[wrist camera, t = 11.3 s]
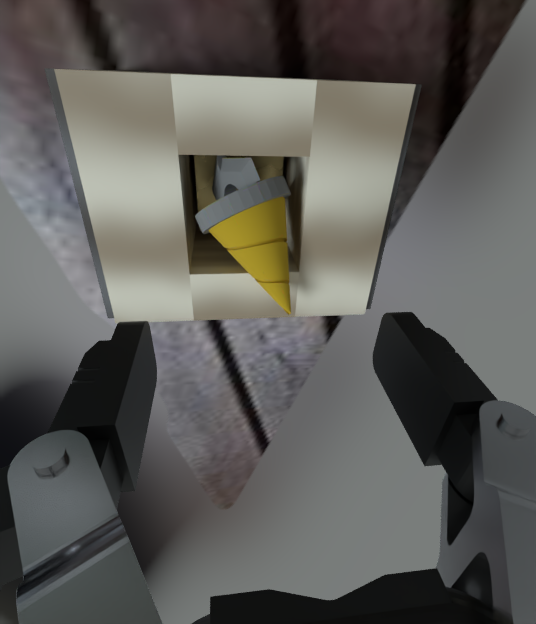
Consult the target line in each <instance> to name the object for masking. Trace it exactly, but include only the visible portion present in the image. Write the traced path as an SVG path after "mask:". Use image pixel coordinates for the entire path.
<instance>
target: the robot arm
mask: <svg viewBox="0 0 536 624" xmlns="http://www.w3.org/2000/svg"><path fill="white" fill-rule="evenodd" d="M373 366H374V370H375V373H376V374H377V376H378V378H379V380H380V382H381V384H382V386H383V388H384V390H385V392H386V394H387V396H388V397H389V399H390V401H391V403H392V405H393V407H394V409H395V411H396V413H397V415H398V416H399V418H400V420H401V422H402V424H403V426H404V428H405V430H406V432H407V433H408V435H409V437H410V439H411V441H412V443H413V445H414V447H415V449H416V450H417V453H418V454H419V456H420V458H421V460H422V462H423V464H424V466H432V465H442V466H443V467H444V469H445V470H446V474H445V475H444V478H443V481H442V504H441V535H440V553H439V559H438V563H437V566H436V569H428V570H420V571H412V572H404V573H396V574H388V575H384V576H382V577H380V578H378V579H376V580H374V581H372V582H370V583H368V584H366V585H364V586H362V587H360V588H358V589H356V590H354V591H352V592H350V593H348V594H346V595H344V596H342V597H340V598H338V599H335V600H322V599H317V598H312V597H307V596H301V595H296V594H291V593H286V592H280V591H275V590H261V591H253V592H245V593H237V594H230V595H221V596H213V597H211V598H210V614H209V615H207V616H205V617H202V618H200V619H198V620H197V621H195V622H194V623H192V624H536V416H535V415H534V414H532V413H531V412H529V411H528V410H526V409H524V408H522V407H520V406H518V405H516V404H513V403H509V402H506V401H498V400H497V399H496V397H495V396H494V395H493V394H492V393H491V391H490V390H489V389H488V388H487V387H486V386H485V384H484V383H483V382H482V381H481V380H480V379H479V378H478V376H477V375H476V374H475V373H474V372H473V370H472V369H471V368H470V367H469V366H468V365H467V364H466V363H464V360H463V359H462V358H461V356H460V355H459V354H458V353H455V349H454V348H453V347H452V346H451V345H450V344H449V342H448V341H447V340H446V339H445V338H444V337H442V336H441V335H439V334H438V333H436V332H435V331H433V330H432V329H430V328H425V327H424V326H423V324H422V323H421V322H420V321H419V319H418V318H417V317H416V316H415V315H414V314H413V313H412V312H398V313H397V312H396V313H386V314H384V315H383V317H382V320H381V324H380V328H379V332H378V336H377V339H376V343H375V347H374V351H373ZM156 381H157V366H156V359H155V353H154V348H153V342H152V337H151V331H150V326H149V323H148V321H129V322H119V323H118V324H117V326H116V329H115V331H114V334H113V336H112V339H111V340H109V341H98V342H97V343H96V344H95V345H94V346H93V347H92V348H91V349H89V350H88V351H87V352H86V353H85V355H84V357H83V359H82V361H81V363H80V365H79V367H78V371H76V374H75V376H74V378H73V380H72V384H70V386H69V388H68V391H67V393H66V395H65V397H64V399H63V401H62V403H61V405H60V408H59V410H58V412H57V414H56V416H55V418H54V420H53V422H52V424H51V427H50V429H49V431H48V433H47V434H45V435H43V436H41V437H39V438H37V439H35V440H34V441H32V442H30V443H29V444H28V445H26V446H25V447H24V448H23V449H22V450H21V451H20V452H19V453H18V454H17V455H16V457H15V458H14V459H13V461H12V463H11V465H9V466H7V467H4V468H1V469H0V590H1V588H2V586H3V584H5V583H8V582H10V581H12V580H15V579H17V578H19V577H21V576H23V582H22V583H21V584H19V585H18V588H17V593H16V601H17V612H18V619H19V624H162V621H161V619H160V616H159V614H158V611H157V609H156V606H155V604H154V602H153V599H152V596H151V594H150V591H149V589H148V586H147V584H146V581H145V579H144V576H143V574H142V572H141V569H140V566H139V564H138V561H137V559H136V556H135V554H134V551H133V549H132V546H131V544H130V541H129V539H128V536H127V534H126V531H125V529H124V527H123V524H122V522H121V520H120V518H119V515H118V513H117V505H118V501H119V497H120V492H128V491H135V488H136V484H137V479H138V473H139V468H140V463H141V458H142V453H143V448H144V443H145V438H146V433H147V428H148V422H149V418H150V413H151V407H152V402H153V397H154V392H155V387H156Z"/></svg>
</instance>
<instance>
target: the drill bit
mask: <svg viewBox="0 0 536 624" xmlns="http://www.w3.org/2000/svg"><path fill="white" fill-rule="evenodd" d="M236 188H237V189H238V190H237V191H236ZM212 191H213V194H214V197H215V199H216V201H215V202H213V203H212V204H210V205H208V206H207V207H205V208H203V209H202V210H201V211H199V212H198V213H197V214H196V216H195V218H196V220H197V222H198V224H199V227H200V229H201V231H202V233H203V234H207V233H211V234H212V235H213V236H214V237H215V238H216V239H217V240H218V241H219V242H220V243H221V244H222V246H223V247H225V248H226V250H227V251H228V252H229V253H230V254H231V255H232V256H233V257H234V258H235V259H236V260H237V261H238V262H239V263H240V264H241V266H242V267H243V268H244V269H245V270H246V271H247V272H248V273H249V274H250V275H251V276H252V277H253V278H255V280H256V281H257V282H258V283H259V284H260V285H261V287H262V288H263V289H264V290H265V291H266V292H267V293H268V294H269V295H270V296H271V297H272V298H273V299H274V300H275V301H276V302H277V303H278V304H279V305H280V306H281V307H282V308H283V309H284V311H285V312H286V313H287V314H288V315H289V314H291V302H290V285H289V264H288V246H287V243H286V242H287V227H286V209H285V199H286V198H288V197H289V196H290V195H291V193H290V190H289V188H288V185H287V183H286V180H285V178H284V177H283V176H277V177H272V178H269V179H265V180H262V181H260V178H259V175H258V173H257V170H256V168H255V166H254V163H253V161H252V158H227V157H226V156H225V155H217V159H216V165H215V172H214V179H213V186H212Z"/></svg>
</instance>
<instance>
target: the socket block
mask: <svg viewBox="0 0 536 624" xmlns="http://www.w3.org/2000/svg"><path fill="white" fill-rule="evenodd" d="M45 72H46V76H47V80H48V84H49V88H50V92H51V96H52V100H53V104H54V108H55V112H56V116H57V119H58V123H59V127H60V131H61V135H62V139H63V143H64V147H65V151H66V155H67V159H68V163H69V167H70V171H71V175H72V179H73V183H74V186H75V190H76V194H77V198H78V202H79V206H80V210H81V214H82V218H83V222H84V226H85V230H86V234H87V238H88V242H89V246H90V249H91V253H92V257H93V261H94V265H95V269H96V273H97V277H98V281H99V285H100V289H101V293H102V297H103V301H104V305H105V309H106V312H107V316H108V318H114V319H115V323H119V322H129V321H148V322H164V321H191V320H219V319H246V318H274V317H301V316H329V315H356V314H365V311H366V309H370V308H371V303H372V299H373V294H374V290H375V286H376V282H377V277H378V273H379V268H380V264H381V259H382V255H383V251H384V247H385V242H386V238H387V234H388V229H389V225H390V221H391V216H392V212H393V208H394V203H395V199H396V195H397V190H398V186H399V182H400V177H401V173H402V168H403V164H404V160H405V155H406V151H407V147H408V142H409V138H410V134H411V129H412V125H413V121H414V116H415V112H416V108H417V103H418V99H419V94H420V90H421V86H422V85H421V84H401V83H382V82H364V81H346V80H323V79H299V78H276V77H252V76H229V75H205V74H182V73H159V72H135V71H109V70H72V69H45ZM194 155H230V156H284V159H283V177H284V178H285V180H286V183H287V185H288V188H289V190H290V193H291V195H290V196H289V197H288V198H286V199H285V209H286V227H287V242H286V243H287V246H288V264H289V285H290V302H291V314H289V315H288V314H287V313H286V312H285V311H284V309H283V308H282V307H281V306H280V305H279V304H278V303H277V302H276V301H275V300H274V299H273V298H272V297H271V296H270V295H269V294H268V293H267V292H266V291H265V290H264V289H263V288H262V287H261V285H260V284H259V283H258V282H257V281H256V280H255V278H253V277H252V276H251V275H250V274H249V273H248V272H247V271H246V270H245V269H244V268H243V267H242V266H241V264H240V263H239V262H238V261H237V260H236V259H235V258H234V257H233V256H232V255H231V254H230V253H229V252H228V251H227V250H226V248H225V247H223V246H222V244H221V243H220V242H219V241H218V240H217V239H216V238H215V237H214V236H213V235H212V234H211V233H207V234H203V233H202V231H199V224H198V222H197V220H196V218H195V216H196V214H197V213H198V206H197V193H196V179H195V165H194Z"/></svg>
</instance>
